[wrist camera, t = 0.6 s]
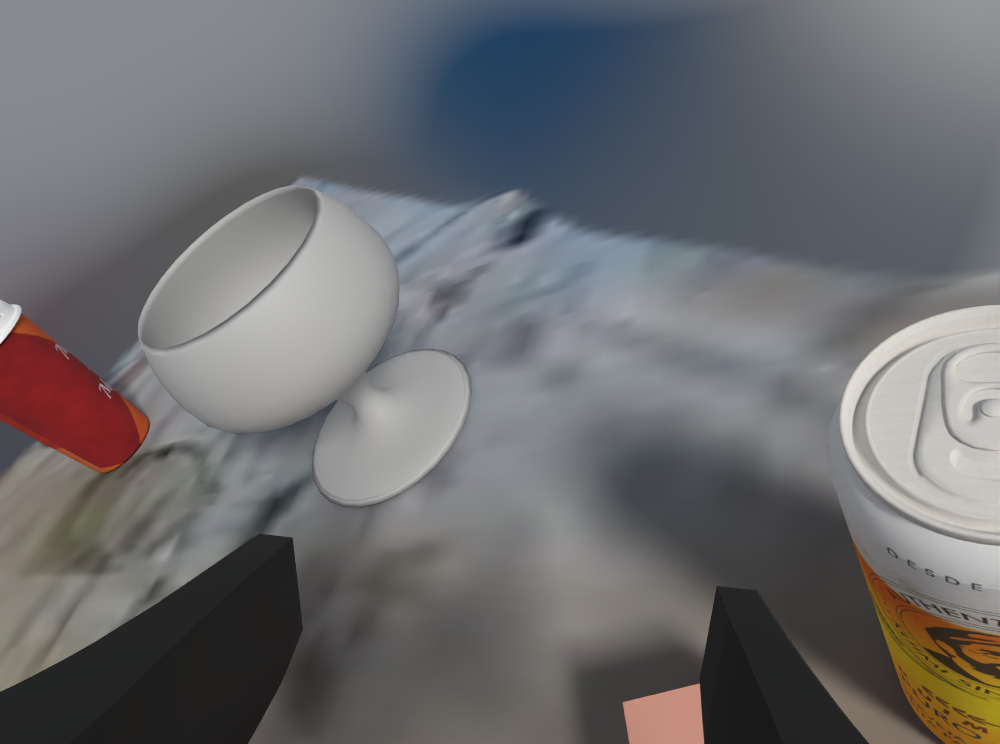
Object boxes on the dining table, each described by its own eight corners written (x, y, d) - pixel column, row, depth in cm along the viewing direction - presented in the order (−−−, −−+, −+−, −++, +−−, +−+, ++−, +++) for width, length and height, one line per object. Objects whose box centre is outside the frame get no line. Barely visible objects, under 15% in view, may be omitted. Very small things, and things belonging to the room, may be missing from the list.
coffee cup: (173, 396, 64) (22, 279, 54) (136, 473, 58) (-40, 359, 48) (110, 419, 67) (-43, 313, 57) (69, 494, 61) (-108, 391, 52)
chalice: (465, 310, 50) (332, 135, 40) (510, 451, 40) (346, 259, 30) (303, 407, 52) (141, 262, 43) (305, 564, 42) (92, 419, 32)
